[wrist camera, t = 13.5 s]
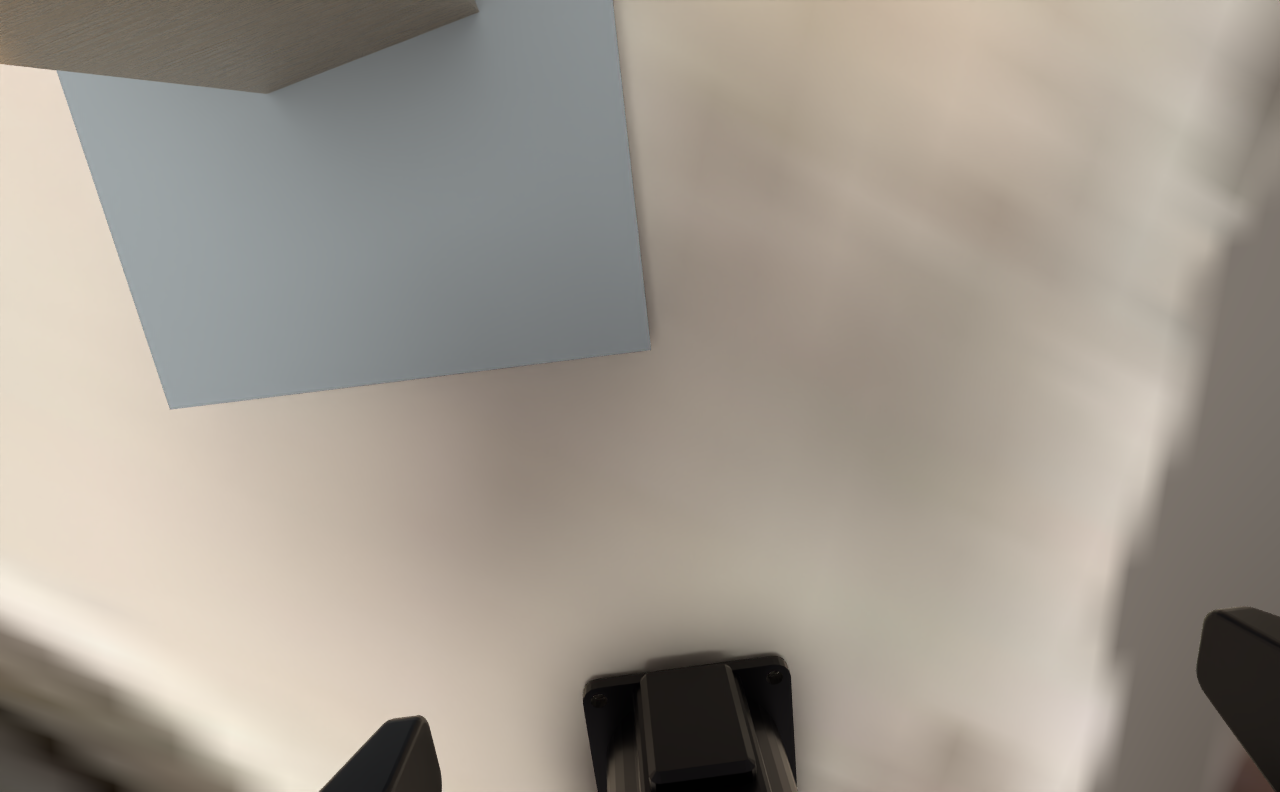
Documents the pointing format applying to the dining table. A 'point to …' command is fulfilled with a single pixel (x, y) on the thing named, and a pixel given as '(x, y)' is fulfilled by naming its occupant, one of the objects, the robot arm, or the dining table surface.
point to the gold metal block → (212, 37)
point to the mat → (379, 210)
